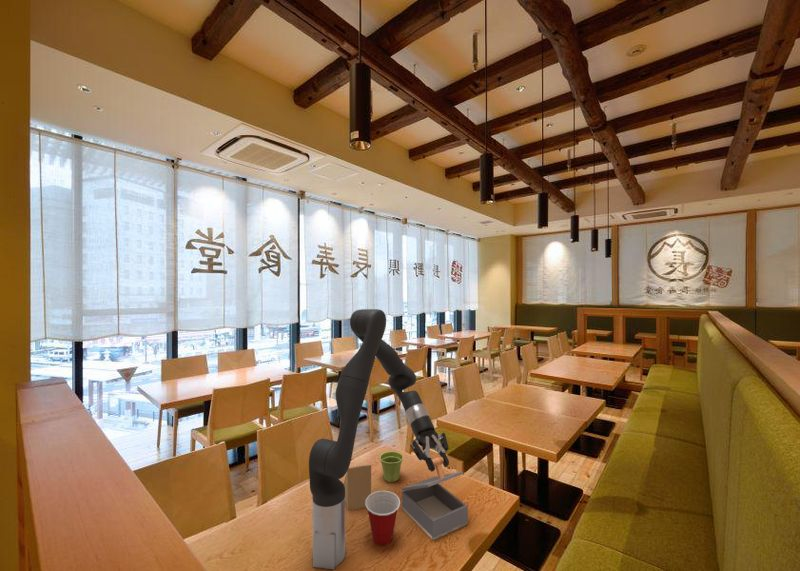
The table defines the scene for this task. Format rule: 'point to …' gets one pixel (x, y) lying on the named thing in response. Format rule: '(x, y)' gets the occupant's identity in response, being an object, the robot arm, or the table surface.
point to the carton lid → (435, 479)
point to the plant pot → (391, 465)
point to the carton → (435, 510)
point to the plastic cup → (382, 515)
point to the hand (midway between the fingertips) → (440, 468)
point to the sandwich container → (357, 486)
